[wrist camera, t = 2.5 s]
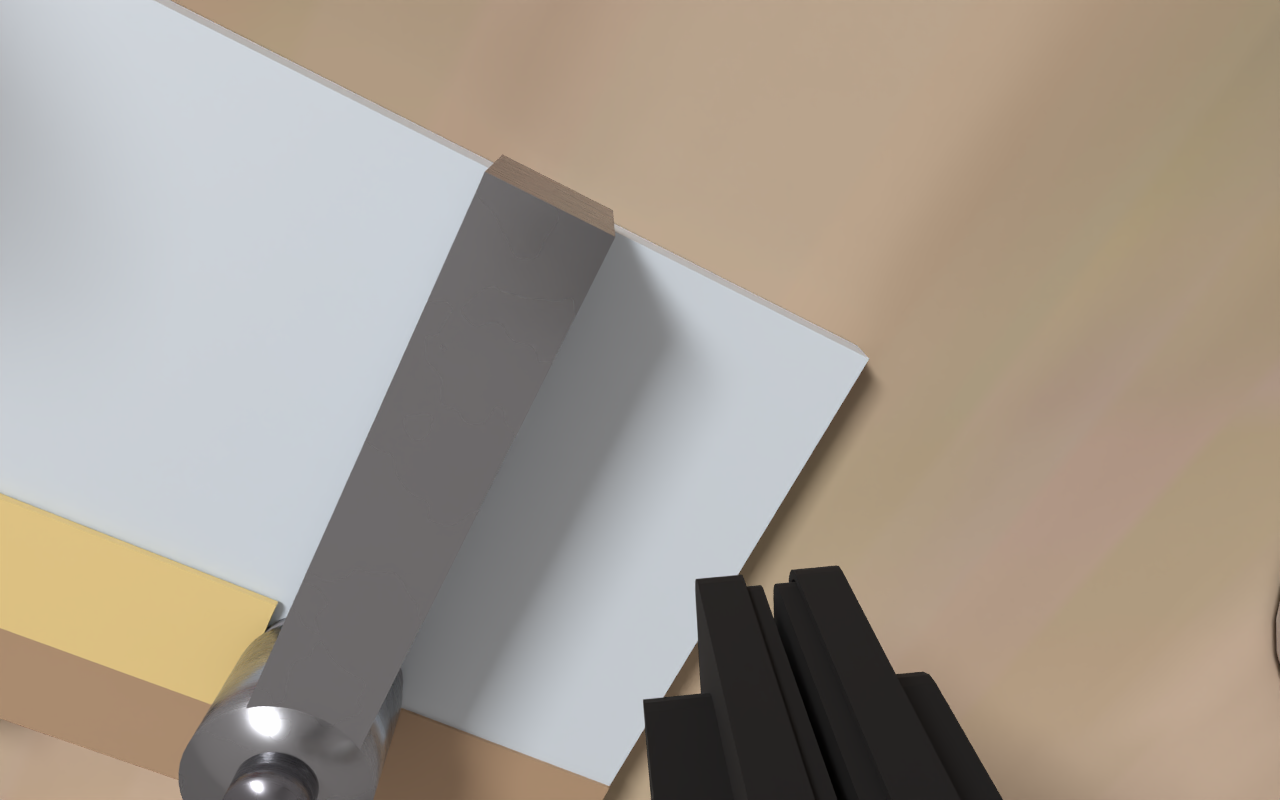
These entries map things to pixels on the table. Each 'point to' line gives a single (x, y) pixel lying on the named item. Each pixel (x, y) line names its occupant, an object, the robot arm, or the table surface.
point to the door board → (337, 413)
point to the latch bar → (405, 503)
